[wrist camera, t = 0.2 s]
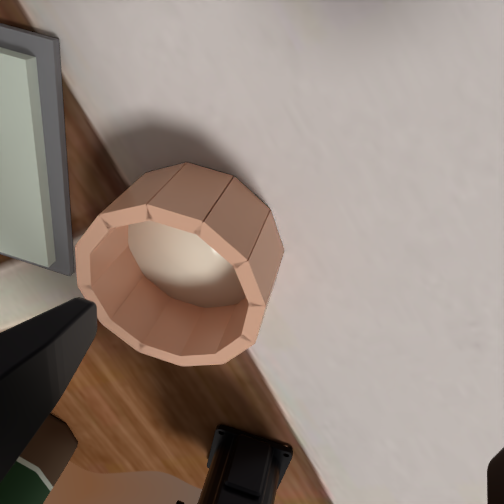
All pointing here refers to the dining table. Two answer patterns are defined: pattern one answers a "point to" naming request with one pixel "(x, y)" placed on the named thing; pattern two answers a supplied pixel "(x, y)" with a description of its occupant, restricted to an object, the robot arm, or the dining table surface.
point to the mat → (49, 135)
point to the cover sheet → (23, 163)
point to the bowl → (182, 265)
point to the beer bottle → (39, 464)
